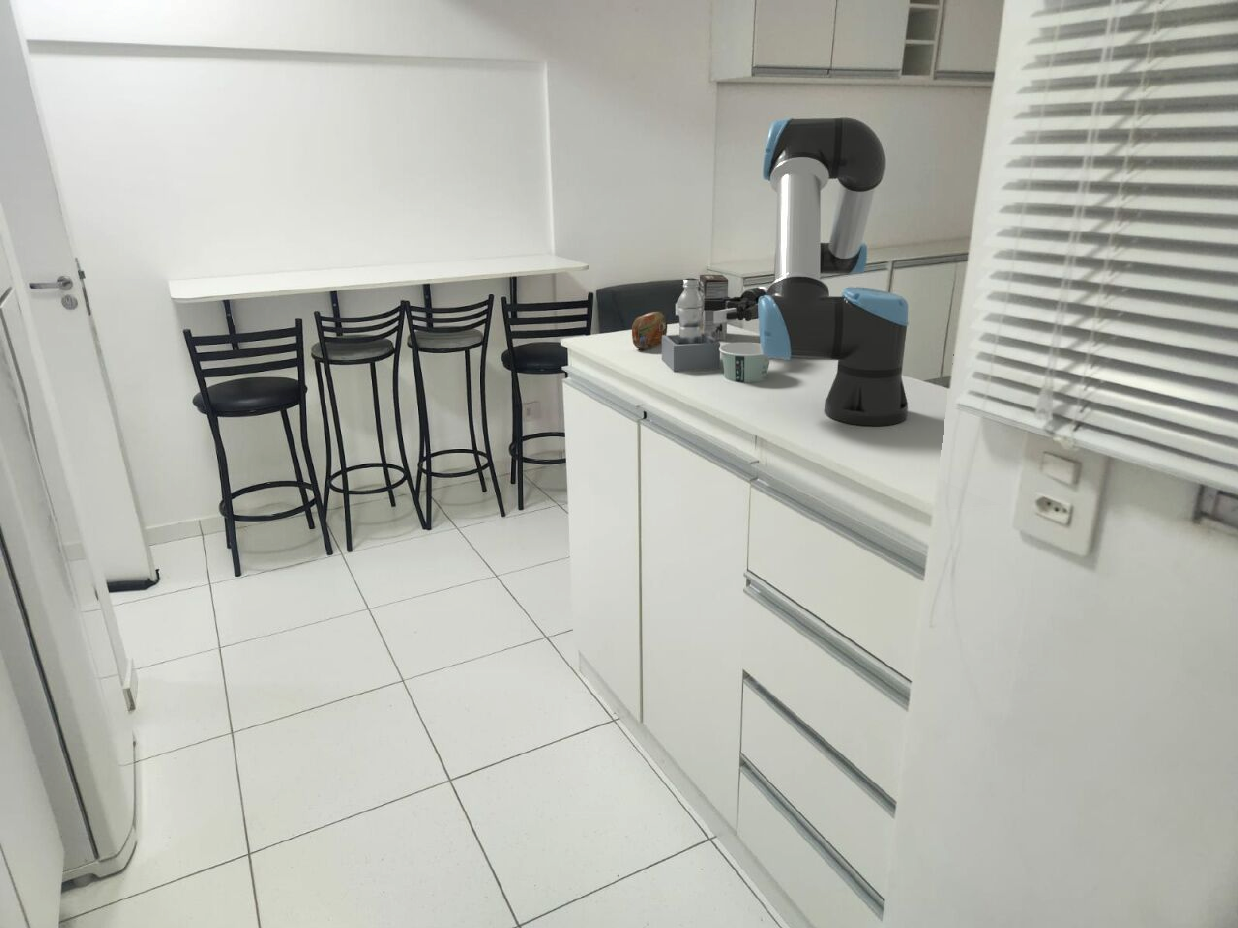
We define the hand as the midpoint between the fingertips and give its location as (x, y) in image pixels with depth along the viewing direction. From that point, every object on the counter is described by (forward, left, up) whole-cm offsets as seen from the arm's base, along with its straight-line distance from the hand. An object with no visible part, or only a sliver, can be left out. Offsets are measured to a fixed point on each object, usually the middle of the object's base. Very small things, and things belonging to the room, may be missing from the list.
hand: (694, 313), depth 189 cm
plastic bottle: (-1, +1, -12) cm, 12 cm away
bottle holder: (-1, +1, -12) cm, 12 cm away
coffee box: (+27, -13, -12) cm, 32 cm away
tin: (+21, +6, -12) cm, 25 cm away
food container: (-15, -8, -12) cm, 21 cm away
